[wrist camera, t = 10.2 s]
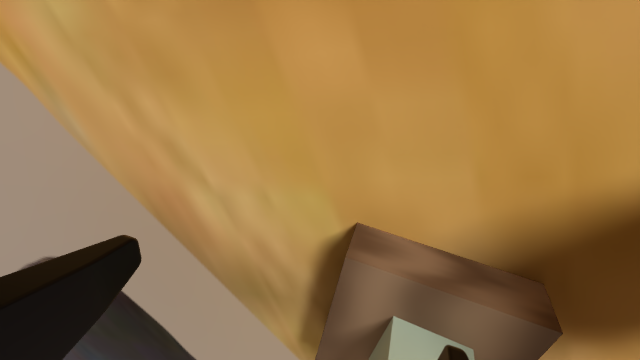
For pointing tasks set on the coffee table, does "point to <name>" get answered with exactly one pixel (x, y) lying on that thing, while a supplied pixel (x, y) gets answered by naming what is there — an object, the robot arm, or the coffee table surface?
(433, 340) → the sage cube
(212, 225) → the coffee table surface
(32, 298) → the robot arm
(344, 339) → the walnut block
